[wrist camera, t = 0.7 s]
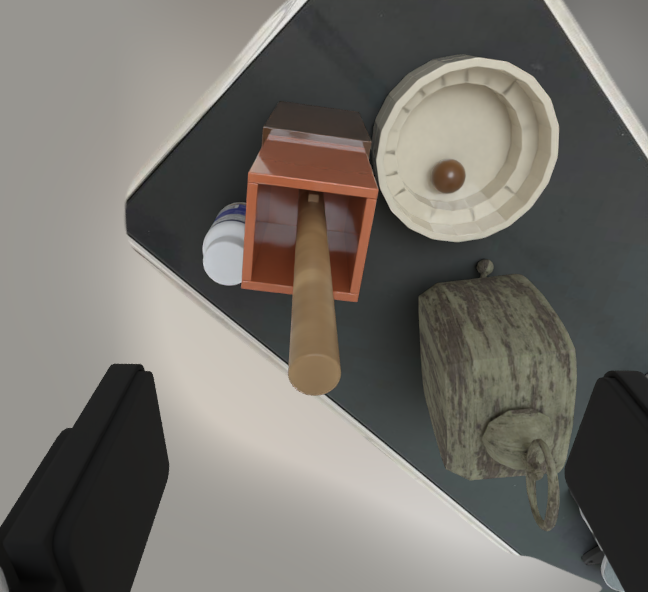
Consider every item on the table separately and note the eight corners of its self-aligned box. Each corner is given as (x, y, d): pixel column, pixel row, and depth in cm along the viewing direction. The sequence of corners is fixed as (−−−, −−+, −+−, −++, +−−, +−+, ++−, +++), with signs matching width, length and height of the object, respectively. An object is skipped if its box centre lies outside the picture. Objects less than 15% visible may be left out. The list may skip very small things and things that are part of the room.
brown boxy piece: (279, 100, 43) (239, 161, 23) (359, 112, 43) (388, 182, 23) (272, 180, 46) (232, 294, 26) (347, 190, 46) (363, 309, 27)
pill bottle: (266, 255, 50) (255, 298, 42) (213, 247, 49) (193, 288, 41) (272, 205, 47) (262, 240, 39) (217, 196, 47) (196, 229, 39)
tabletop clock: (496, 362, 56) (607, 578, 34) (415, 370, 56) (473, 588, 34) (501, 243, 49) (644, 418, 27) (409, 254, 50) (476, 433, 28)
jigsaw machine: (572, 576, 57) (672, 538, 54) (538, 499, 66) (621, 463, 63) (632, 651, 65) (723, 622, 62) (594, 573, 74) (670, 545, 71)
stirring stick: (296, 206, 33) (284, 404, 15) (300, 170, 32) (292, 340, 14) (320, 209, 33) (335, 408, 16) (325, 173, 32) (346, 345, 14)
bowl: (387, 43, 41) (397, 44, 35) (553, 68, 41) (587, 73, 36) (358, 208, 47) (363, 230, 42) (502, 226, 48) (524, 251, 43)
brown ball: (432, 153, 44) (439, 161, 42) (464, 157, 44) (473, 165, 42) (424, 186, 46) (430, 195, 43) (456, 190, 46) (464, 200, 43)
